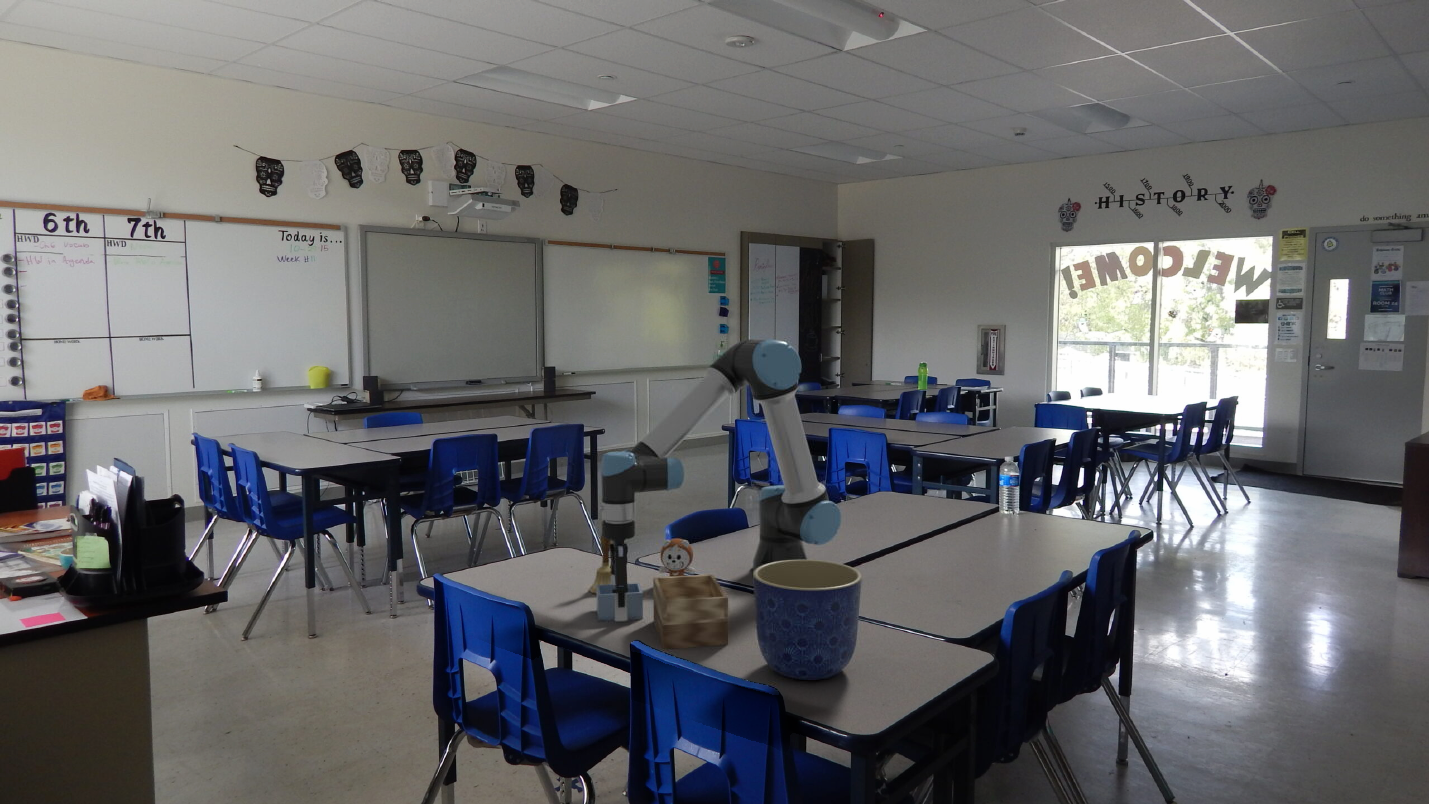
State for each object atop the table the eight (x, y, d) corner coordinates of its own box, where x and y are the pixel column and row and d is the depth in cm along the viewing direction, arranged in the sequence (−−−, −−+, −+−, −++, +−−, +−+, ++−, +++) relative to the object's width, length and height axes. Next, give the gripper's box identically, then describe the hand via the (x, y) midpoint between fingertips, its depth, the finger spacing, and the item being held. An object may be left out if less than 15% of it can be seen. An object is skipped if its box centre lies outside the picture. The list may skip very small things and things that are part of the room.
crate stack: (713, 617, 202) (713, 574, 201) (728, 644, 185) (728, 597, 184) (653, 621, 200) (653, 577, 199) (663, 648, 183) (662, 601, 182)
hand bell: (625, 585, 228) (624, 524, 226) (618, 595, 219) (617, 531, 218) (593, 584, 228) (592, 523, 227) (585, 594, 220) (584, 530, 219)
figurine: (655, 590, 223) (655, 543, 222) (661, 580, 232) (661, 535, 231) (692, 591, 222) (691, 544, 221) (696, 581, 231) (696, 536, 230)
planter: (883, 674, 169) (884, 576, 167) (801, 701, 157) (801, 596, 155) (811, 643, 186) (811, 554, 184) (731, 665, 174) (731, 569, 172)
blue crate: (639, 607, 210) (639, 582, 209) (642, 618, 202) (642, 592, 201) (596, 610, 208) (596, 585, 207) (598, 621, 200) (598, 595, 199)
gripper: (599, 509, 214) (599, 595, 216) (604, 532, 190) (605, 629, 192) (630, 508, 216) (630, 594, 217) (640, 531, 191) (640, 627, 193)
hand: (618, 611), depth 205 cm, fingers open, 13 cm apart
